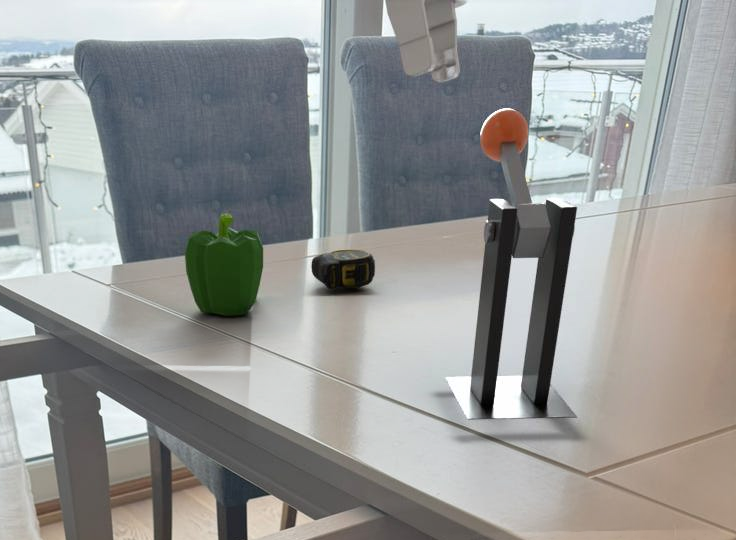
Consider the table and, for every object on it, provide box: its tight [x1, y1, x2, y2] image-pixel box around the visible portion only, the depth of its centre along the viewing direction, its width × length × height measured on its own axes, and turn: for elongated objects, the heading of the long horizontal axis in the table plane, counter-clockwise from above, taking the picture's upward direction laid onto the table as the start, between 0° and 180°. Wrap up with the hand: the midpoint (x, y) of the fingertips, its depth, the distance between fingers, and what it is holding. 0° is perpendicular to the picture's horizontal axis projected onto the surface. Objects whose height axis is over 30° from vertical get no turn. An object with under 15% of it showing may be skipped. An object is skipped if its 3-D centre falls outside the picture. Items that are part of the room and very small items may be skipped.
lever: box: [479, 108, 552, 259], centre depth 69 cm, size 15×4×4 cm, turn 179°
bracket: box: [445, 197, 578, 420], centre depth 68 cm, size 10×8×15 cm
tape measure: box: [311, 249, 376, 290], centre depth 108 cm, size 7×7×4 cm
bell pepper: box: [184, 213, 264, 317], centre depth 98 cm, size 8×8×10 cm
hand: (434, 77), depth 62 cm, fingers open, 8 cm apart
